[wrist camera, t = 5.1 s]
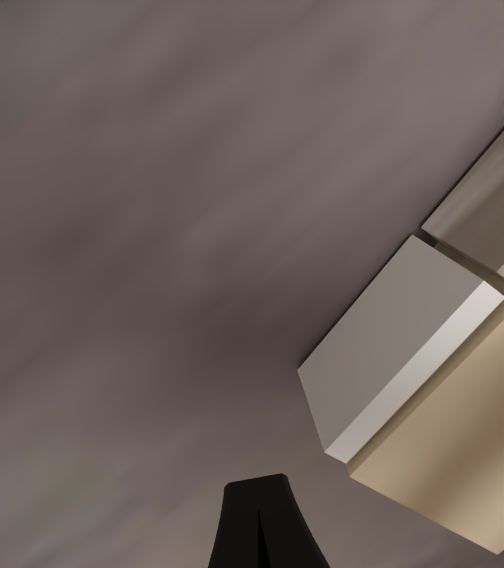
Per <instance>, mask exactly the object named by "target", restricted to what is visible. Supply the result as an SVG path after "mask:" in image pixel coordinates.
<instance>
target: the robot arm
mask: <svg viewBox="0 0 504 568" xmlns="http://www.w3.org/2000/svg"><path fill="white" fill-rule="evenodd" d="M208 568H330V566H329V564H328V563H327V561H326V559H325V557H324V556H323V554H322V552H321V550H320V548H319V547H318V545H317V543H316V541H315V540H314V538H313V536H312V534H311V532H310V530H309V528H308V526H307V524H306V522H305V520H304V518H303V516H302V514H301V512H300V509H299V507H298V505H297V503H296V500H295V498H294V495H293V493H292V490H291V487H290V484H289V481H288V477H287V476H286V475H284V474H282V473H280V474H275V475H269V476H264V477H258V478H253V479H247V480H242V481H236V482H231V483H228V484H227V485H226V486H225V488H224V497H223V504H222V510H221V516H220V521H219V526H218V530H217V534H216V539H215V543H214V547H213V551H212V554H211V558H210V562H209V565H208Z"/></svg>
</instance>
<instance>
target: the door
mask: <svg viewBox="0 0 504 568" xmlns="http://www.w3.org/2000/svg"><path fill="white" fill-rule="evenodd" d="M503 300H504V296H503V295H502V294H501V293H499V292H498V291H497V290H496V289H494V288H493V287H492V286H490V285H489V284H488V283H487V282H485V281H484V280H482V279H481V278H479V277H478V276H476V275H475V274H473V273H472V272H470V271H468V270H467V269H465V268H464V267H462V266H461V265H459V264H458V263H456V262H454V261H453V260H451V259H450V258H448V257H447V256H445V255H444V254H442V253H440V252H439V251H437V250H436V249H434V248H433V247H431V246H429V245H428V244H426V243H425V242H423V241H422V240H420V239H419V238H417V237H415V236H414V235H411V236H410V237H409V238H408V240H407V241H406V242H405V243H404V244H403V246H402V247H401V248H400V249H399V250H398V251H397V253H396V254H395V255H394V256H393V257H392V259H391V260H390V261H389V262H388V263H387V265H386V266H385V267H384V268H383V269H382V270H381V272H380V273H379V274H378V275H377V276H376V278H375V279H374V280H373V281H372V282H371V283H370V285H369V286H368V287H367V288H366V289H365V291H364V292H363V293H362V294H361V295H360V297H359V298H358V299H357V300H356V301H355V302H354V304H353V305H352V306H351V307H350V308H349V310H348V311H347V312H346V313H345V314H344V315H343V317H342V318H341V319H340V320H339V321H338V323H337V324H336V325H335V326H334V327H333V329H332V330H331V331H330V332H329V333H328V334H327V336H326V337H325V338H324V339H323V340H322V342H321V343H320V344H319V345H318V346H317V347H316V349H315V350H314V351H313V352H312V353H311V355H310V356H309V357H308V358H307V359H306V361H305V362H304V363H303V364H302V365H301V366H300V368H299V369H298V370H297V371H298V374H299V377H300V380H301V383H302V386H303V389H304V392H305V395H306V398H307V401H308V404H309V407H310V410H311V413H312V417H313V420H314V423H315V426H316V429H317V432H318V435H319V438H320V441H321V444H322V447H323V450H324V452H325V453H327V454H328V455H330V456H332V457H334V458H336V459H338V460H340V461H342V462H344V463H347V462H348V461H349V460H350V459H351V458H352V457H353V456H354V455H355V454H356V453H357V452H358V451H359V450H360V449H361V448H362V447H363V446H364V445H365V444H366V443H367V441H368V440H369V439H370V438H371V437H372V436H373V435H374V434H375V433H376V432H377V431H378V430H379V429H380V428H381V427H382V426H383V425H384V424H385V423H386V422H387V421H388V420H389V419H390V418H391V416H392V415H393V414H394V413H395V412H396V411H397V410H398V409H399V408H400V407H401V406H402V405H403V404H404V403H405V402H406V401H407V400H408V399H409V398H410V397H411V396H412V395H413V394H414V392H415V391H416V390H417V389H418V388H419V387H420V386H421V385H422V384H423V383H424V382H425V381H426V380H427V379H428V378H429V377H430V376H431V375H432V374H433V373H434V372H435V371H436V370H437V369H438V367H439V366H440V365H441V364H442V363H443V362H444V361H445V360H446V359H447V358H448V357H449V356H450V355H451V354H452V353H453V352H454V351H455V350H456V349H457V348H458V347H459V346H460V345H461V343H462V342H463V341H464V340H465V339H466V338H467V337H468V336H469V335H470V334H471V333H472V332H473V331H474V330H475V329H476V328H477V327H478V326H479V325H480V324H481V323H482V322H483V321H484V319H485V318H486V317H487V316H488V315H489V314H490V313H491V312H492V311H493V310H494V309H495V308H496V307H497V306H498V305H499V304H500V303H501V302H502V301H503Z"/></svg>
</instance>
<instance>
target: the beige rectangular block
mask: <svg viewBox="0 0 504 568" xmlns="http://www.w3.org/2000/svg"><path fill="white" fill-rule="evenodd" d="M421 228H422V229H423V230H424V231H426V232H427V233H428V234H429V235H431V236H432V237H433V238H434V239H436V240H437V241H438V243H437V244H436V245H435V246H434V247H433V248H434V249H436V250H437V251H439V252H440V253H442V254H444V255H445V256H447V257H448V258H450V259H451V260H453V261H454V262H456V263H458V264H459V265H461V266H462V267H464V268H465V269H467V270H468V271H470V272H472V273H473V274H475V275H476V276H478V277H479V278H481V279H482V280H484V281H485V282H487V283H488V284H489V285H490V286H492V287H493V288H494V289H496V290H497V291H498V292H499V293H501V294H502V295H503V296H504V131H503V132H502V133H501V135H500V136H499V137H498V138H497V139H496V140H495V142H494V143H493V144H492V145H491V146H490V147H489V149H488V150H487V151H486V152H485V153H484V154H483V156H482V157H481V158H480V159H479V160H478V161H477V163H476V164H475V165H474V166H473V167H472V168H471V170H470V171H469V172H468V173H467V174H466V175H465V177H464V178H463V179H462V180H461V181H460V182H459V184H458V185H457V186H456V187H455V188H454V189H453V191H452V192H451V193H450V194H449V195H448V196H447V197H446V199H445V200H444V201H443V202H442V203H441V204H440V206H439V207H438V208H437V209H436V210H435V211H434V213H433V214H432V215H431V216H430V217H429V218H428V220H427V221H426V222H425V223H424V224H423V225H422V227H421ZM344 464H345V467H346V470H347V472H348V475H349V477H351V478H353V479H355V480H357V481H358V482H360V483H362V484H364V485H366V486H368V487H370V488H372V489H374V490H376V491H377V492H379V493H381V494H383V495H385V496H387V497H389V498H391V499H393V500H395V501H396V502H398V503H400V504H402V505H404V506H406V507H408V508H410V509H412V510H414V511H415V512H417V513H419V514H421V515H423V516H425V517H427V518H429V519H431V520H433V521H434V522H436V523H438V524H440V525H442V526H444V527H446V528H448V529H450V530H452V531H453V532H455V533H457V534H459V535H461V536H463V537H465V538H467V539H469V540H471V541H472V542H474V543H476V544H478V545H480V546H482V547H484V548H486V549H488V550H489V551H491V552H493V553H495V554H497V555H498V554H499V553H500V552H502V551H503V550H504V300H503V301H502V302H501V303H500V304H499V305H498V306H497V307H496V308H495V309H494V310H493V311H492V312H491V313H490V314H489V315H488V316H487V317H486V318H485V319H484V321H483V322H482V323H481V324H480V325H479V326H478V327H477V328H476V329H475V330H474V331H473V332H472V333H471V334H470V335H469V336H468V337H467V338H466V339H465V340H464V341H463V342H462V343H461V345H460V346H459V347H458V348H457V349H456V350H455V351H454V352H453V353H452V354H451V355H450V356H449V357H448V358H447V359H446V360H445V361H444V362H443V363H442V364H441V365H440V366H439V367H438V369H437V370H436V371H435V372H434V373H433V374H432V375H431V376H430V377H429V378H428V379H427V380H426V381H425V382H424V383H423V384H422V385H421V386H420V387H419V388H418V389H417V390H416V391H415V392H414V394H413V395H412V396H411V397H410V398H409V399H408V400H407V401H406V402H405V403H404V404H403V405H402V406H401V407H400V408H399V409H398V410H397V411H396V412H395V413H394V414H393V415H392V416H391V418H390V419H389V420H388V421H387V422H386V423H385V424H384V425H383V426H382V427H381V428H380V429H379V430H378V431H377V432H376V433H375V434H374V435H373V436H372V437H371V438H370V439H369V440H368V441H367V443H366V444H365V445H364V446H363V447H362V448H361V449H360V450H359V451H358V452H357V453H356V454H355V455H354V456H353V457H352V458H351V459H350V460H349V461H348V462H347V463H344Z"/></svg>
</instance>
